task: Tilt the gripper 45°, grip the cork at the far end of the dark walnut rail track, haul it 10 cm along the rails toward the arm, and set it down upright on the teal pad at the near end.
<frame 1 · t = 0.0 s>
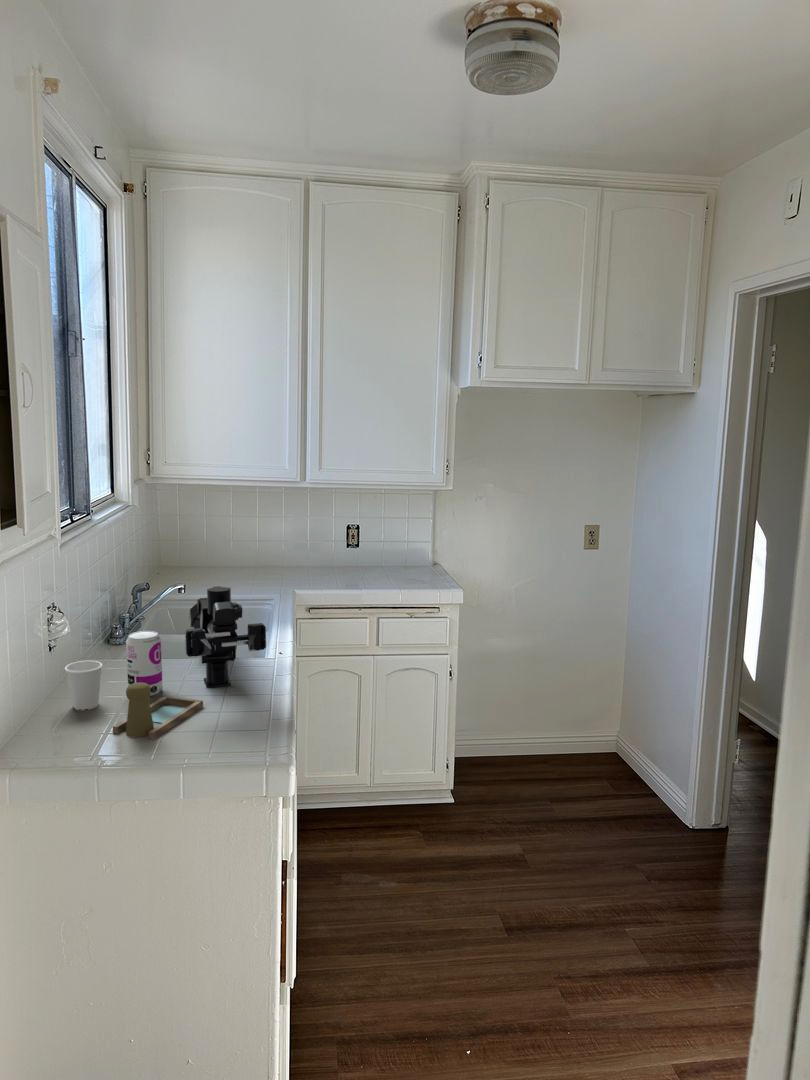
hand: (231, 649, 183), 17 cm above the counter, tool horizontal, fingers open, 9 cm apart
supplement can: (145, 692, 202), on the counter
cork: (140, 732, 178), on the counter
dixie cup: (85, 706, 192), on the counter
rail track: (154, 722, 183), on the counter
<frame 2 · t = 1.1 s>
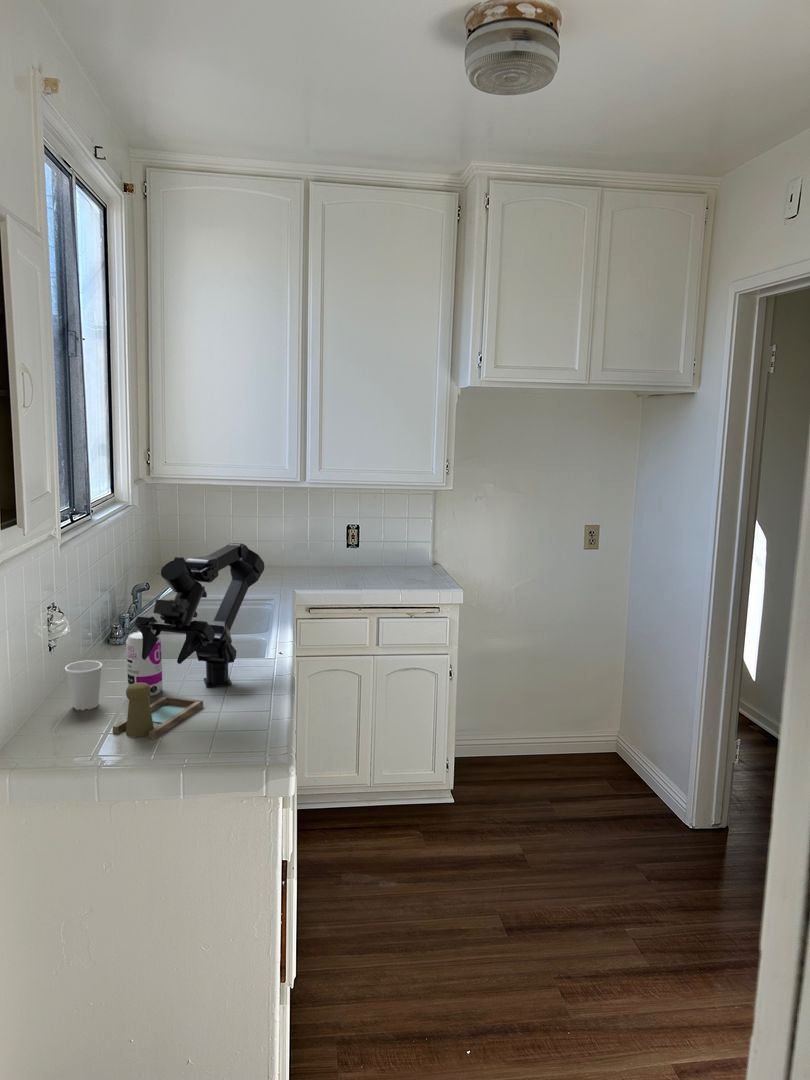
hand: (160, 661, 183), 14 cm above the counter, tool tilted 45°, fingers open, 9 cm apart
nothing on the counter moved.
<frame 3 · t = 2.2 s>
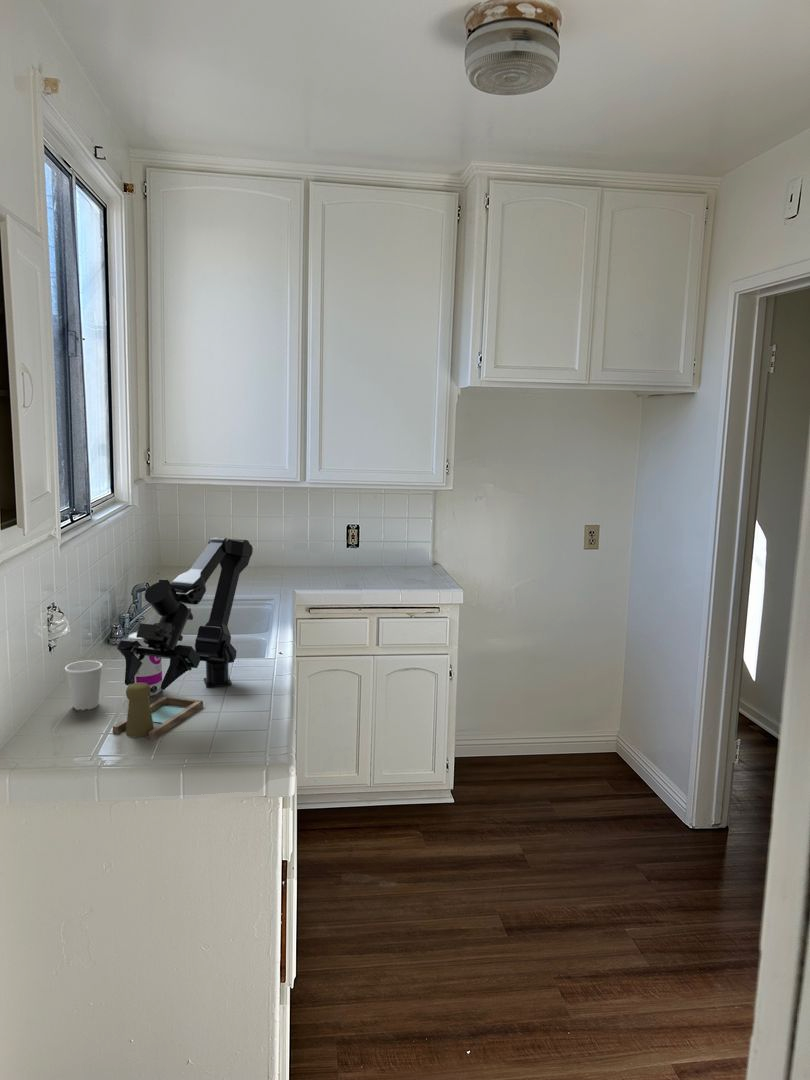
hand: (144, 686, 178), 10 cm above the counter, tool tilted 45°, fingers open, 9 cm apart
nothing on the counter moved.
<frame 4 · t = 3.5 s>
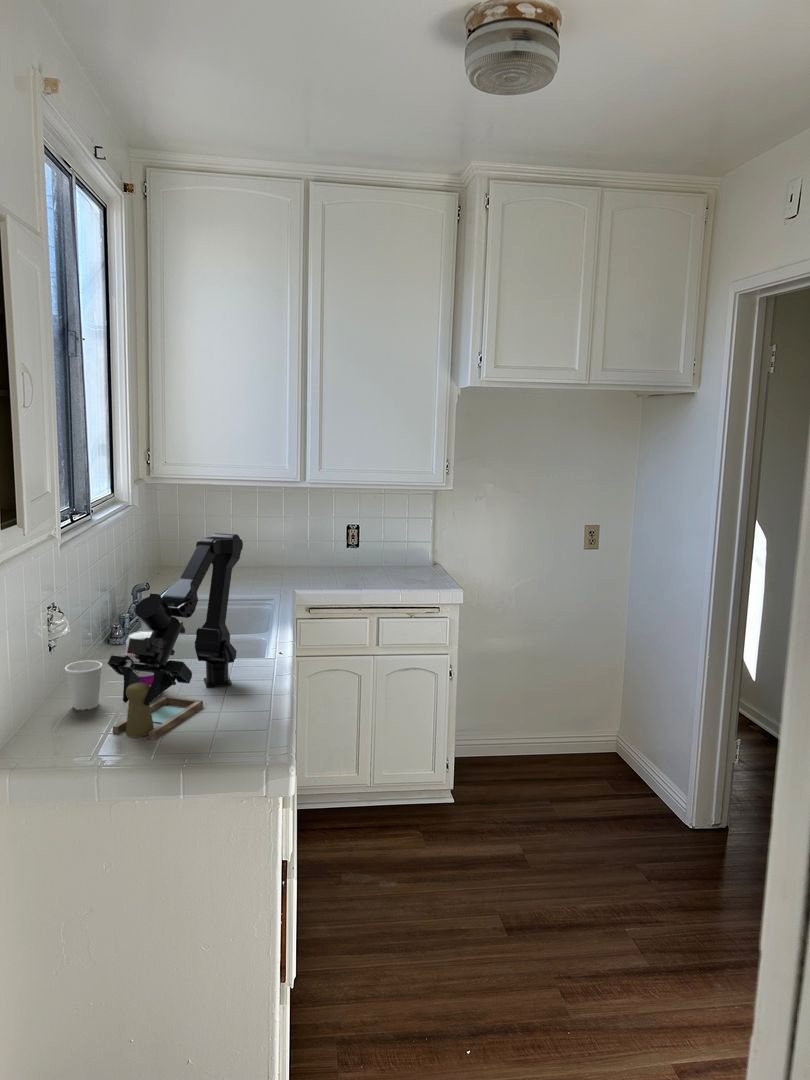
hand: (135, 703, 175), 7 cm above the counter, tool tilted 45°, fingers closed on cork, 5 cm apart
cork: (140, 732, 178), on the counter, touching gripper
everything else where it was.
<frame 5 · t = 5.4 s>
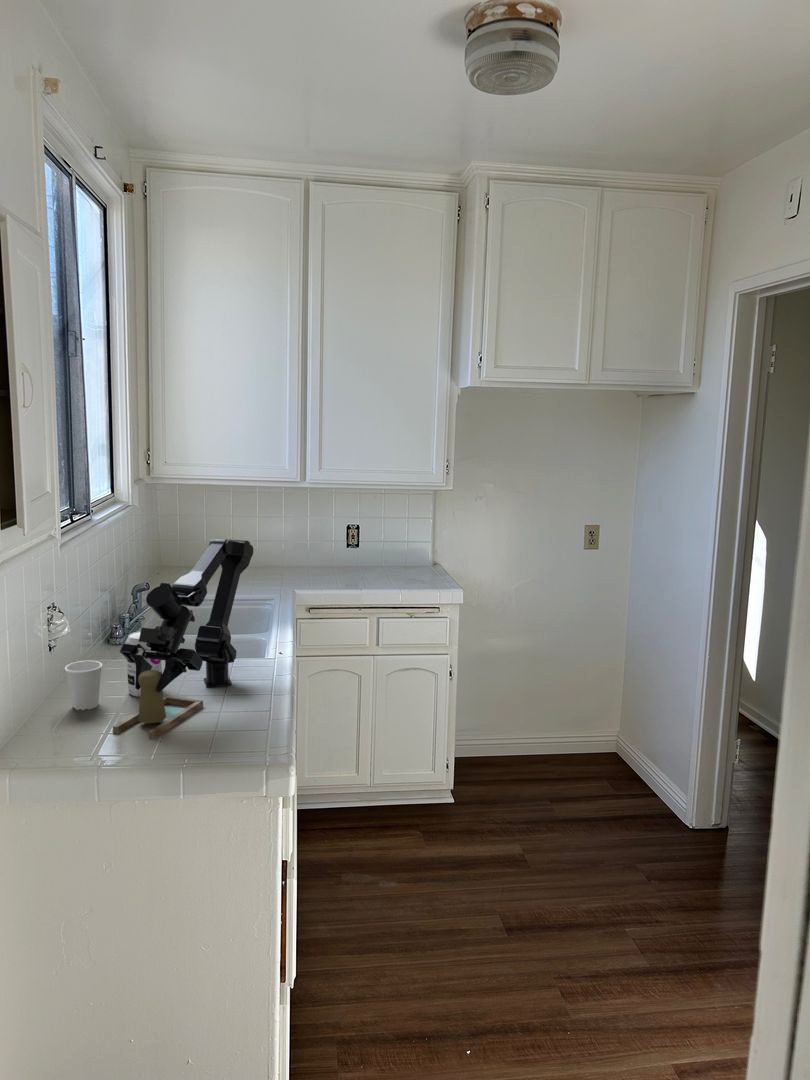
hand: (147, 690, 179), 8 cm above the counter, tool tilted 45°, fingers closed on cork, 5 cm apart
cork: (152, 718, 182), point 1 cm above the counter, touching gripper
everything else where it was.
when the fingers open (8 cm above the counter, at t = 7.1 s): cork stays where it is, resting on rail track.
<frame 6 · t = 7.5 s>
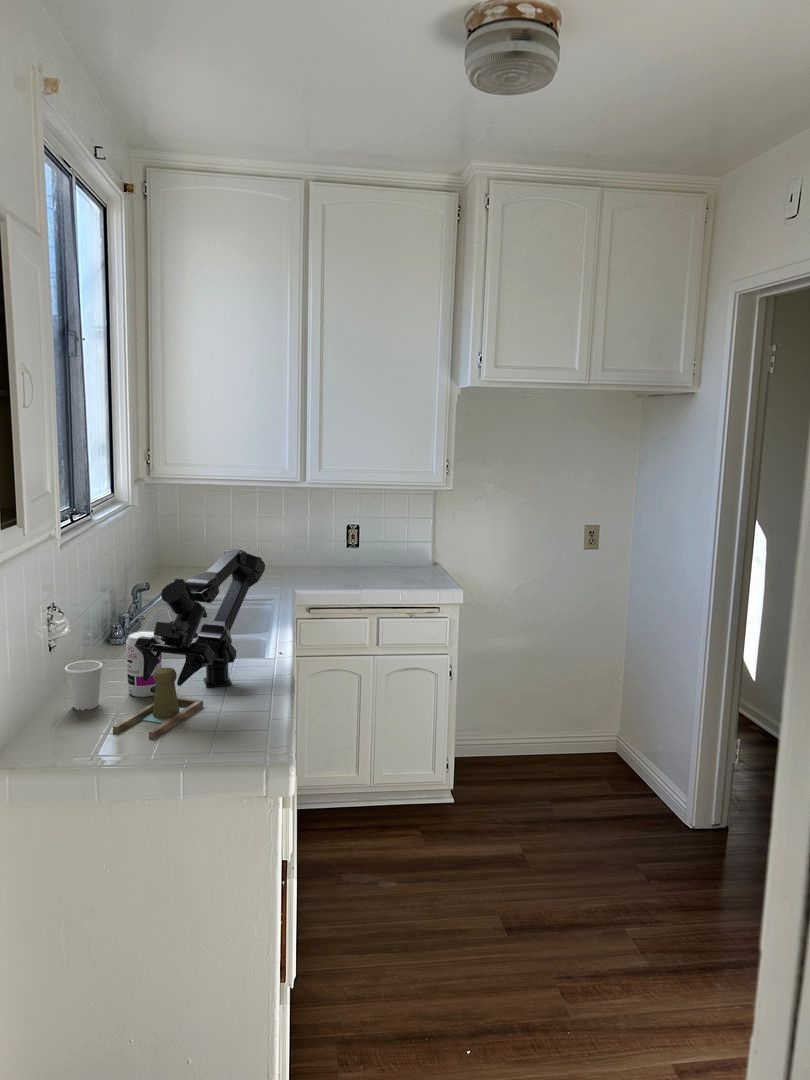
hand: (161, 683, 184), 8 cm above the counter, tool tilted 45°, fingers open, 9 cm apart
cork: (166, 715, 187), resting on rail track
everything else where it was.
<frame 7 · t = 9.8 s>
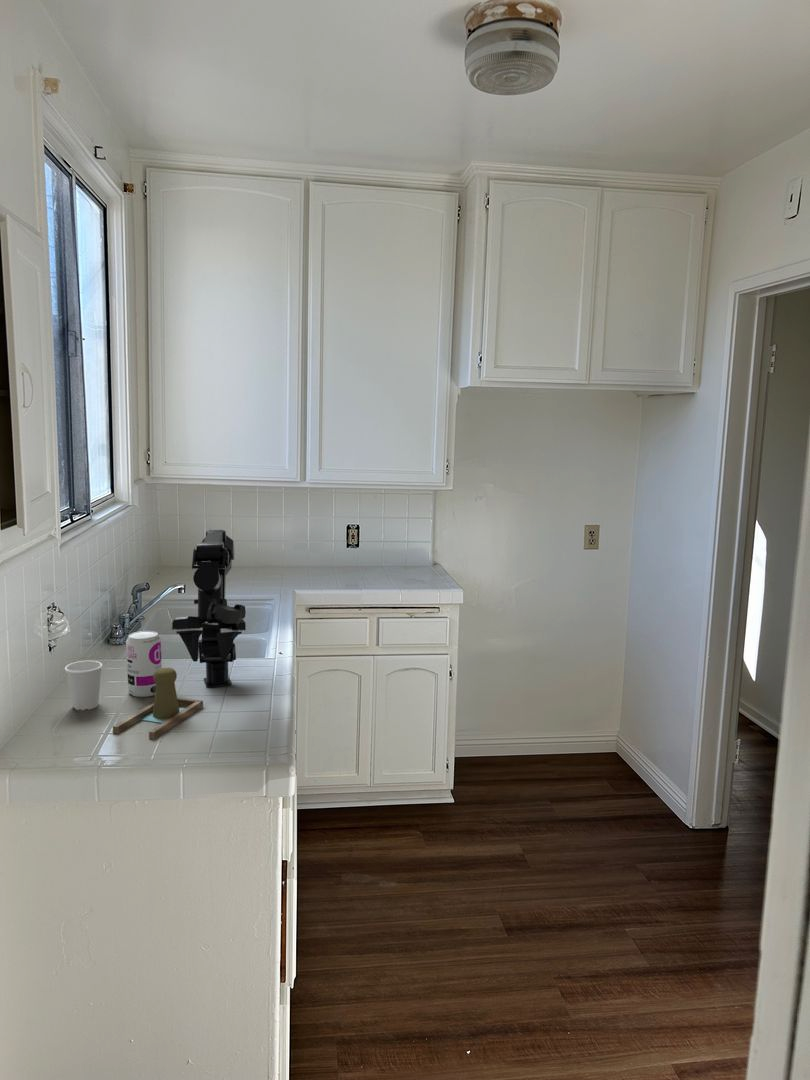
hand: (210, 661, 188), 12 cm above the counter, tool tilted 20°, fingers open, 9 cm apart
nothing on the counter moved.
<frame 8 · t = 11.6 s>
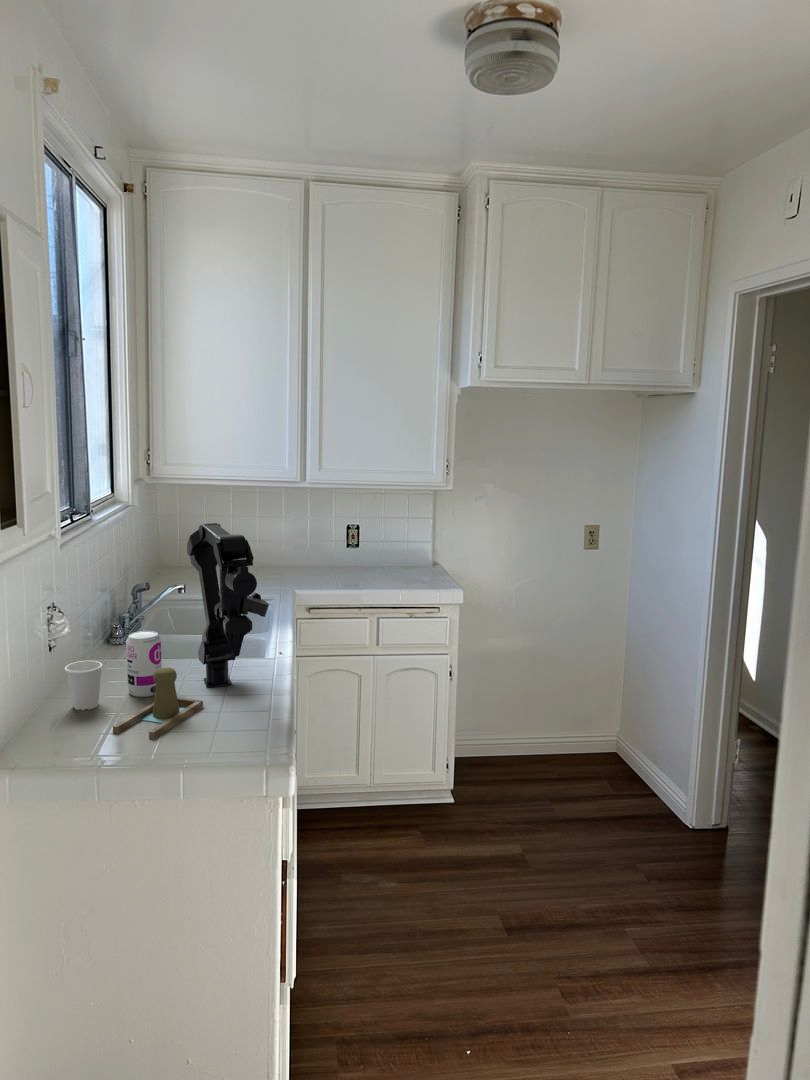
hand: (233, 650, 194), 13 cm above the counter, tool pointing down, fingers open, 9 cm apart
nothing on the counter moved.
at the end: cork 0.1 cm from the target spot, resting on rail track; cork tilted 0°; the gripper is holding nothing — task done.
